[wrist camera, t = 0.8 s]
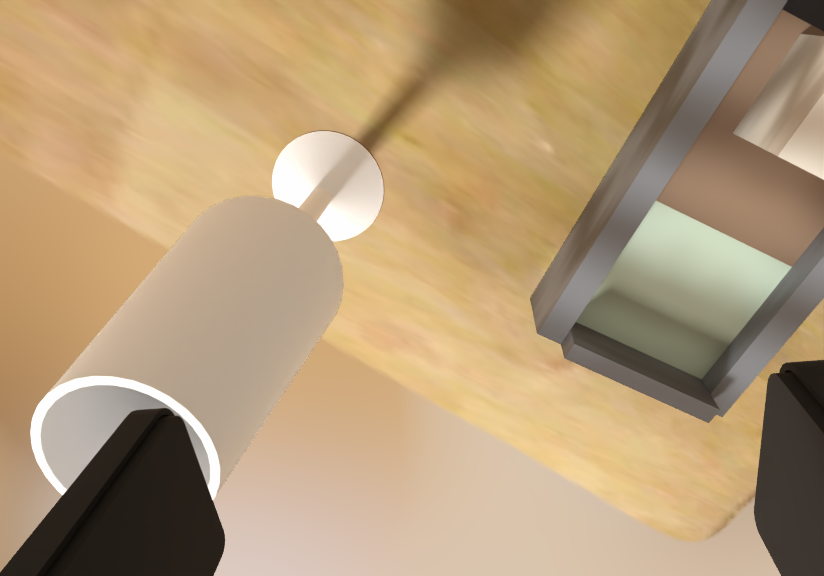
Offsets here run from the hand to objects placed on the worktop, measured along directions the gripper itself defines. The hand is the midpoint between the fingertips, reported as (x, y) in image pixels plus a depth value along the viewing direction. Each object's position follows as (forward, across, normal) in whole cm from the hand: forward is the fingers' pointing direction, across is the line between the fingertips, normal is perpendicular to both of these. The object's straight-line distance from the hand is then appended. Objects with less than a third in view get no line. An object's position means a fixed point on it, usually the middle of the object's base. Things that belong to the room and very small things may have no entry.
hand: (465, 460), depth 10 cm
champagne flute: (+28, +9, +2) cm, 29 cm away
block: (+24, -16, +1) cm, 29 cm away
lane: (+27, -15, +3) cm, 31 cm away
